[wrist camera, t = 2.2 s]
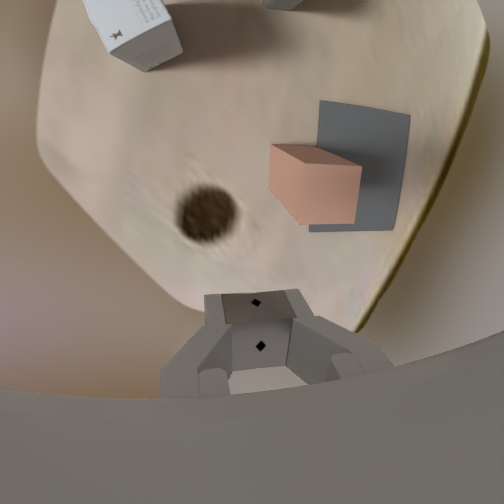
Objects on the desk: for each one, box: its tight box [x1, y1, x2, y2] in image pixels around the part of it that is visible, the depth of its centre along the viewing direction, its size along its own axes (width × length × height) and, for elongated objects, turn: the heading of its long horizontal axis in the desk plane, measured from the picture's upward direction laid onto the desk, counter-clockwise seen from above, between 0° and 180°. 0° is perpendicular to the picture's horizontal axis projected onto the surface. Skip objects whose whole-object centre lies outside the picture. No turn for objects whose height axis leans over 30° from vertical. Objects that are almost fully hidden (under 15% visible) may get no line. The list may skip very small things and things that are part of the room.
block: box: [269, 144, 362, 225], centre depth 27 cm, size 4×4×10 cm
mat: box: [309, 101, 410, 232], centre depth 32 cm, size 14×11×1 cm
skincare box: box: [83, 0, 183, 72], centre depth 18 cm, size 6×4×12 cm
